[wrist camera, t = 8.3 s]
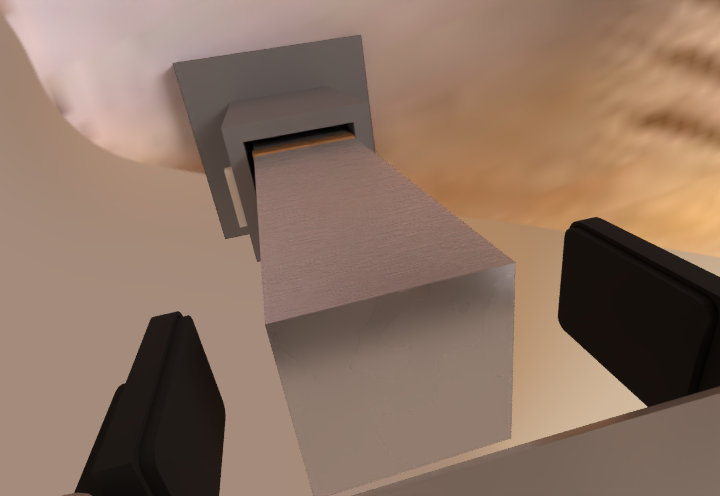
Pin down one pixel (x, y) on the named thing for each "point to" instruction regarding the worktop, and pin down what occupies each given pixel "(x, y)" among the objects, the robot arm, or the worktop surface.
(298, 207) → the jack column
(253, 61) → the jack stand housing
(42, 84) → the worktop surface
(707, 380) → the robot arm
